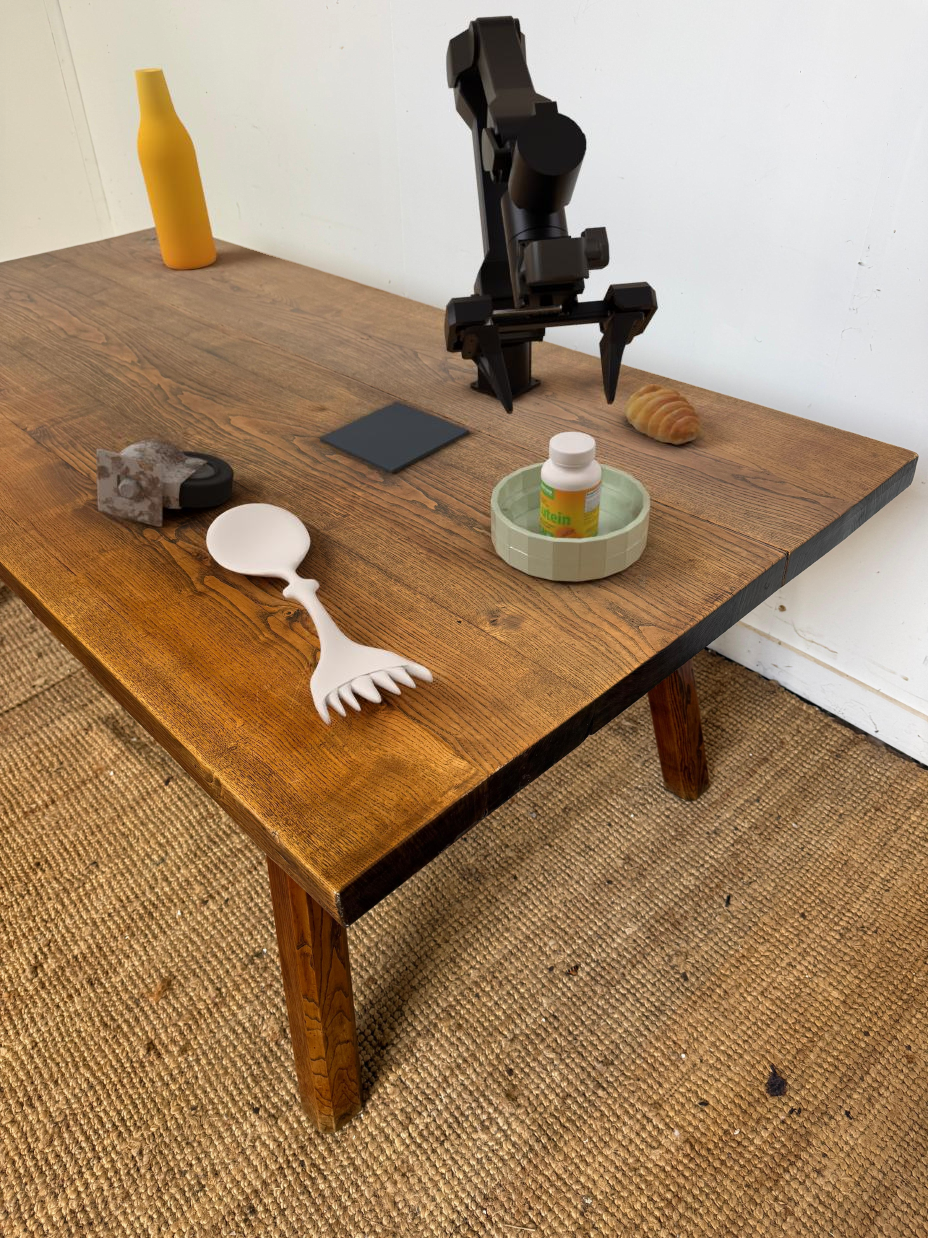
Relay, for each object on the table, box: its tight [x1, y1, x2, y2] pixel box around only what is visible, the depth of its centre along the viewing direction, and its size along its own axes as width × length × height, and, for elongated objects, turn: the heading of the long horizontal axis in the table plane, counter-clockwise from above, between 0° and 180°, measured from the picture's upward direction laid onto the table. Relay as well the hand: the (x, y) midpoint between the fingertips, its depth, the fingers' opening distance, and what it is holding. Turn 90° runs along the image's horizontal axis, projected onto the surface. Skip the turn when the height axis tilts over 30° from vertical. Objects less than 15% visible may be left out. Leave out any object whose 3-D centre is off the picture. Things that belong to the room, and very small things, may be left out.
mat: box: [319, 401, 470, 474], centre depth 100 cm, size 12×12×1 cm
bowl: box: [490, 461, 651, 582], centre depth 81 cm, size 14×14×4 cm
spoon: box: [205, 503, 434, 726], centre depth 74 cm, size 9×32×4 cm, turn 30°
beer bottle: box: [134, 67, 217, 271], centre depth 146 cm, size 9×9×29 cm
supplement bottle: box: [540, 431, 602, 539], centre depth 79 cm, size 5×5×10 cm
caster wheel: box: [96, 438, 235, 528], centre depth 89 cm, size 7×11×10 cm
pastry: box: [624, 383, 703, 445], centre depth 98 cm, size 9×7×4 cm
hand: (561, 407), depth 79 cm, fingers open, 9 cm apart
